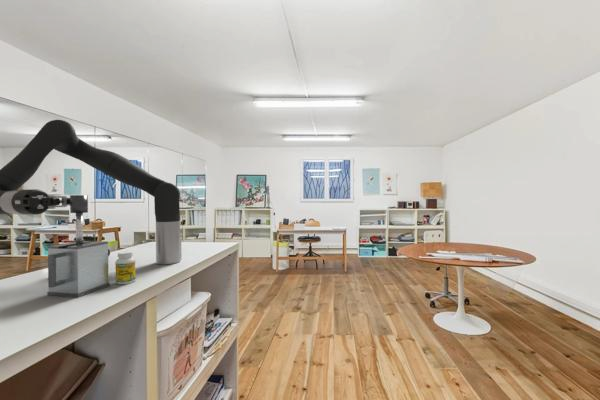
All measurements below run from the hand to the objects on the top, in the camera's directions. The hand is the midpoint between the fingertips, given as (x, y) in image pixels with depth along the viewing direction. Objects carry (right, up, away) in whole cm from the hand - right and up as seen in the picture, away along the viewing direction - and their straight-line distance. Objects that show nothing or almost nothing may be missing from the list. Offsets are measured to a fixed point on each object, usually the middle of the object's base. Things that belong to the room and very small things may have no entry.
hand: (70, 201), depth 80 cm
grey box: (+3, -26, -2) cm, 26 cm away
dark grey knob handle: (+3, -16, 0) cm, 16 cm away
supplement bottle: (+12, -26, +7) cm, 29 cm away
